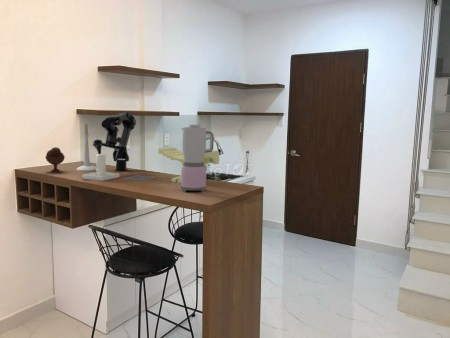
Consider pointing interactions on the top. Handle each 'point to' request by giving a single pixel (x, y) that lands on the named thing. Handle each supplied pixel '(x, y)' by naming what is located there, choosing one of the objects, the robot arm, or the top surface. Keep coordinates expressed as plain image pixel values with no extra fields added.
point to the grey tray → (94, 177)
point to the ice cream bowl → (55, 158)
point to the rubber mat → (139, 177)
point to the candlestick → (86, 154)
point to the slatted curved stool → (178, 155)
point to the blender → (195, 157)
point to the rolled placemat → (100, 165)
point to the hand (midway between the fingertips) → (107, 159)
